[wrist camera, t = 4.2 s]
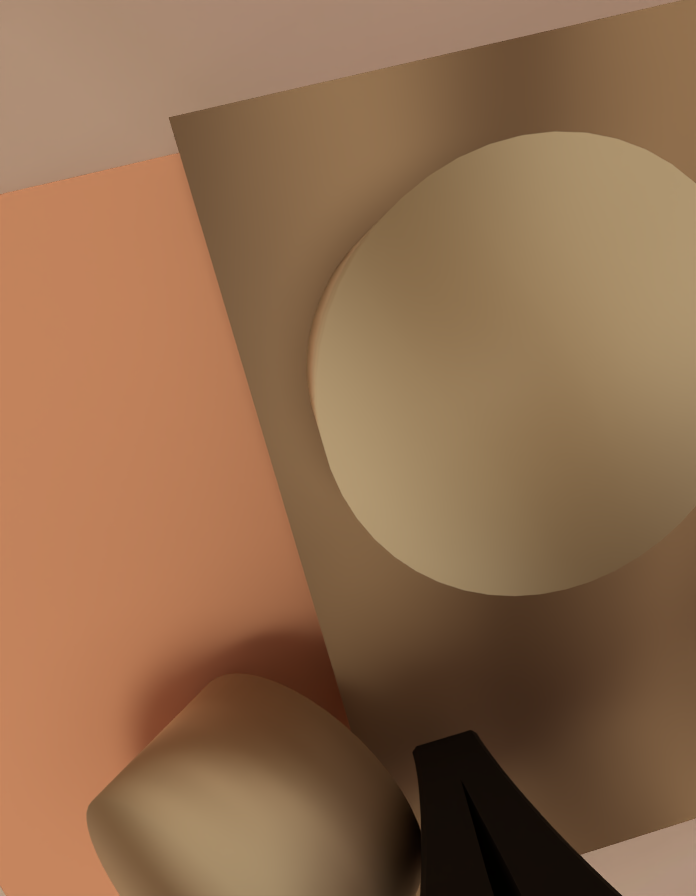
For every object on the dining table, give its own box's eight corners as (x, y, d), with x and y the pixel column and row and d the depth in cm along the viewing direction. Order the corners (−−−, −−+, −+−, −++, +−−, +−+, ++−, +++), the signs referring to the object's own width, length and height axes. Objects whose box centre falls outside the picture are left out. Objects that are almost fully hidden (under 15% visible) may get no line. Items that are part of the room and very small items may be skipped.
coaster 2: (528, 116, 9) (652, 17, 6) (666, 405, 10) (815, 441, 7) (238, 322, 9) (216, 326, 6) (417, 572, 11) (467, 668, 8)
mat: (191, 155, 10) (187, 150, 10) (389, 833, 15) (391, 843, 15) (-345, 279, 9) (-364, 279, 9) (44, 939, 14) (39, 952, 14)
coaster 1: (314, 655, 9) (193, 804, 7) (483, 918, 10) (421, 1146, 7) (162, 687, 13) (48, 793, 11) (288, 877, 13) (205, 1019, 11)
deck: (673, 43, 10) (762, -18, 9) (710, 734, 15) (771, 793, 13) (191, 155, 10) (168, 117, 8) (389, 833, 15) (404, 910, 13)
